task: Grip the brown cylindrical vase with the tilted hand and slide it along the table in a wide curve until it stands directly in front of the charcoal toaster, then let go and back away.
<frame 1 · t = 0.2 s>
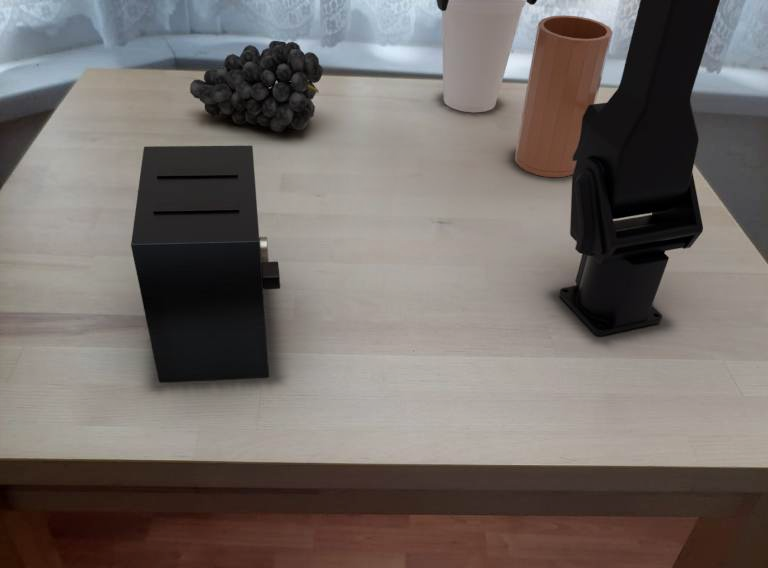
hand: (486, 6, 73), 15 cm above the table, tool pointing down, fingers open, 9 cm apart
fruit: (258, 123, 88), on the table
toaster: (214, 324, 62), on the table
brown cylindrical vase: (547, 162, 85), on the table
foam cup: (469, 103, 95), on the table
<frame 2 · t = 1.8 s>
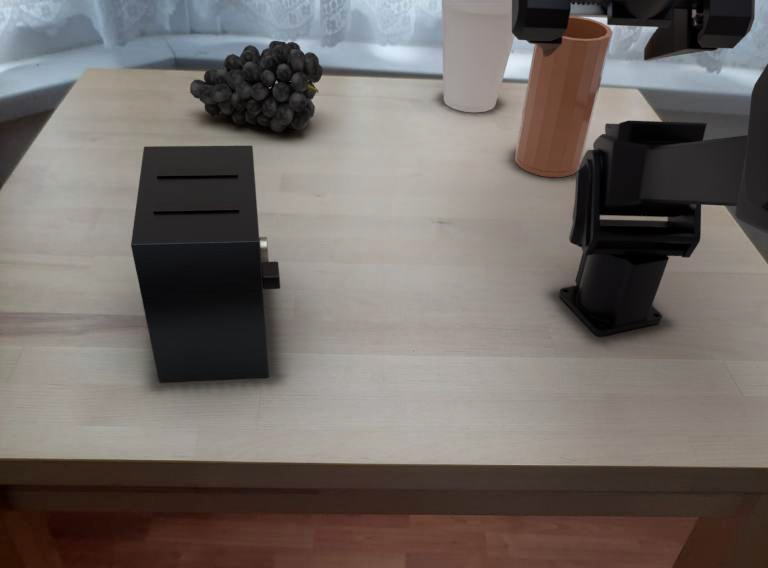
hand: (595, 52, 70), 13 cm above the table, tool tilted 45°, fingers open, 9 cm apart
nothing on the table moved.
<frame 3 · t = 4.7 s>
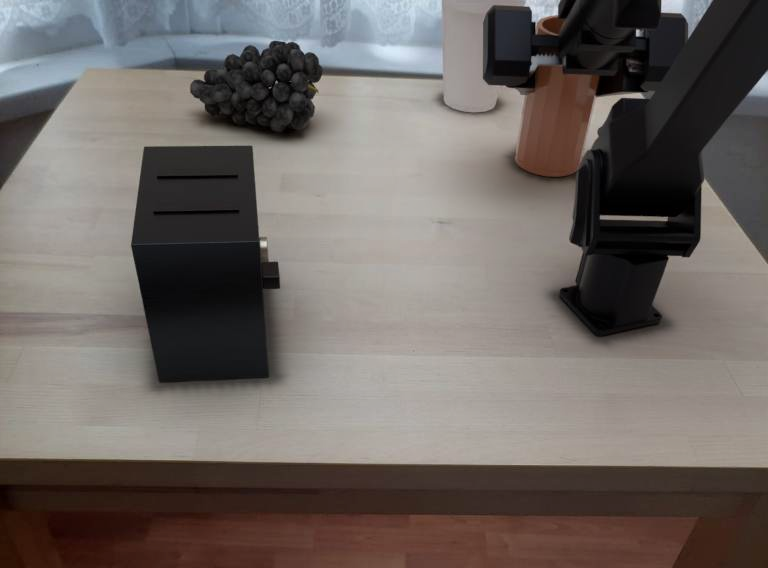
hand: (557, 91, 81), 7 cm above the table, tool tilted 45°, fingers closed on brown cylindrical vase, 7 cm apart
brown cylindrical vase: (547, 162, 85), on the table, touching gripper
everything else where it was.
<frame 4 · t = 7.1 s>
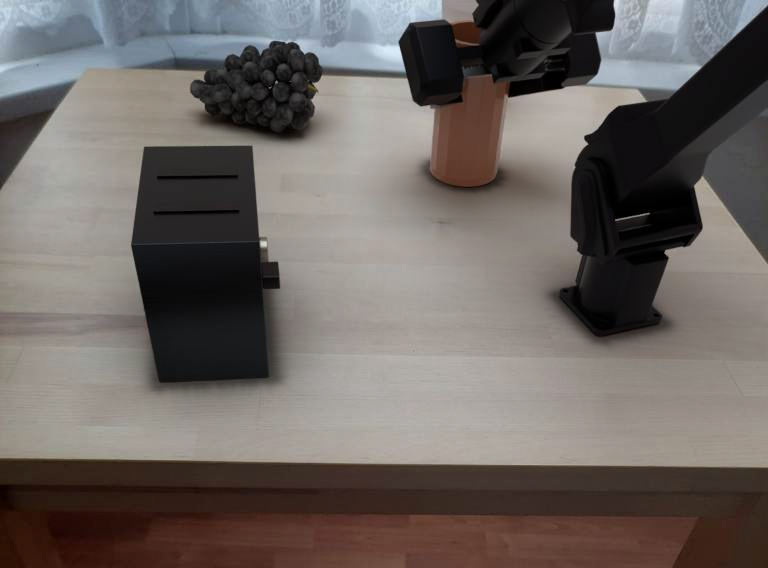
hand: (463, 98, 78), 7 cm above the table, tool tilted 45°, fingers closed on brown cylindrical vase, 7 cm apart
brown cylindrical vase: (463, 171, 82), on the table, touching gripper
everything else where it was.
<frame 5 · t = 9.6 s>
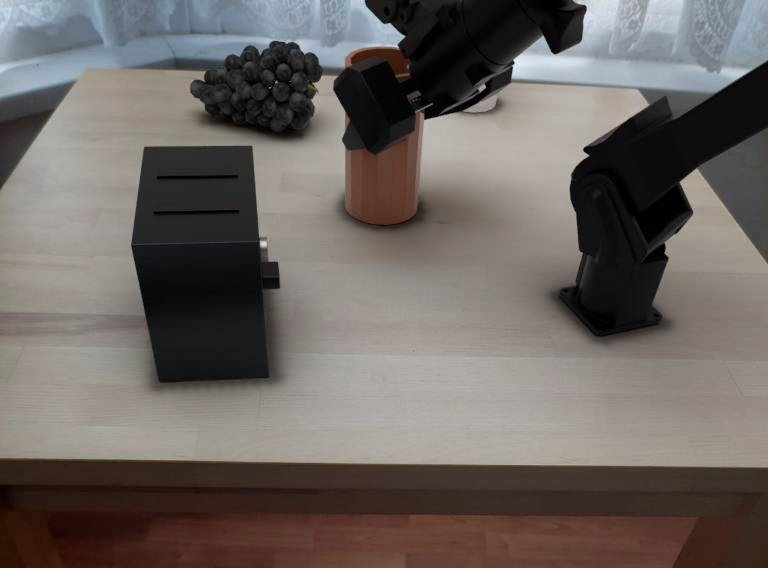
hand: (371, 132, 72), 7 cm above the table, tool tilted 45°, fingers closed on brown cylindrical vase, 7 cm apart
brown cylindrical vase: (381, 206, 76), on the table, touching gripper
everything else where it was.
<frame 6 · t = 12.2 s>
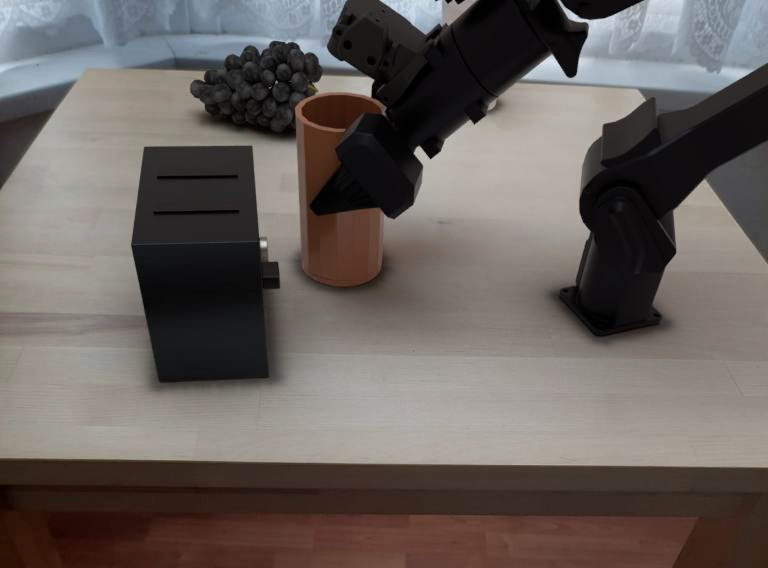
hand: (325, 188, 64), 7 cm above the table, tool tilted 45°, fingers closed on brown cylindrical vase, 7 cm apart
brown cylindrical vase: (341, 264, 69), on the table, touching gripper
everything else where it was.
when the fingers open (7 cm above the table, at t = 14.5 s): brown cylindrical vase stays where it is, on the table.
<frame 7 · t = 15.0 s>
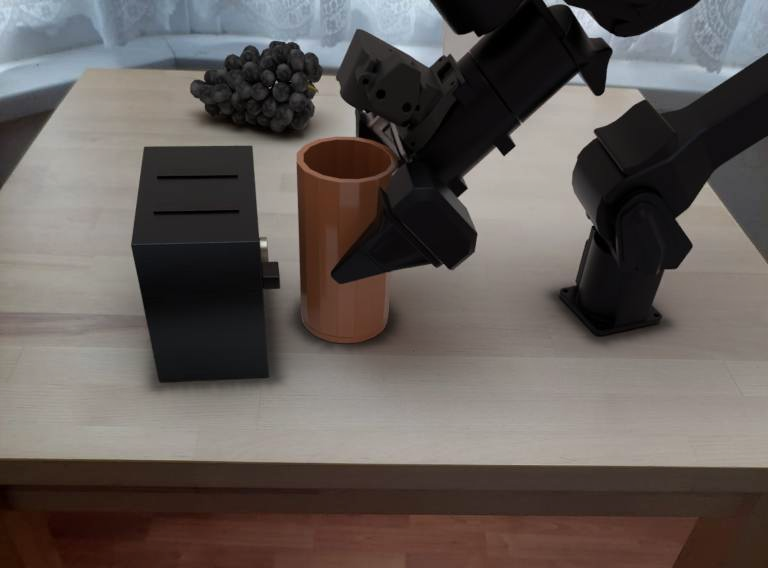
hand: (328, 245, 59), 7 cm above the table, tool tilted 45°, fingers open, 9 cm apart
brown cylindrical vase: (344, 317, 64), on the table
everything else where it was.
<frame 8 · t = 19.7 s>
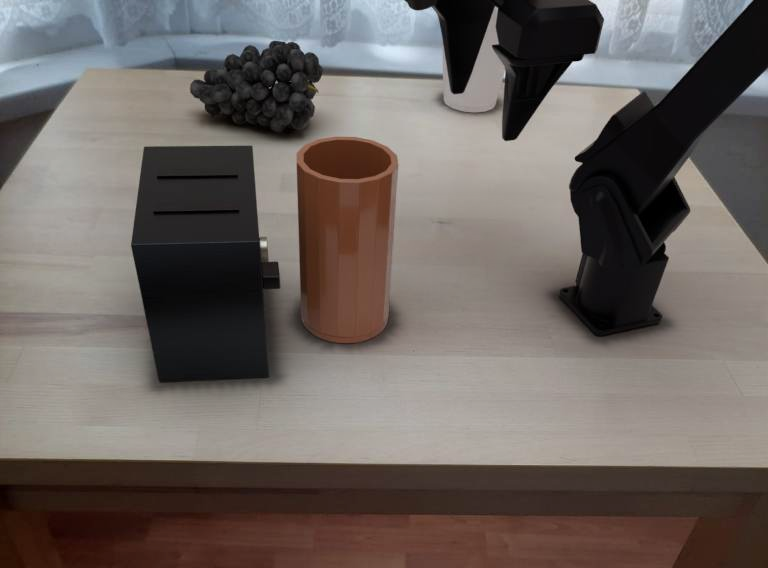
hand: (481, 115, 63), 12 cm above the table, tool pointing down, fingers open, 9 cm apart
nothing on the table moved.
at the end: brown cylindrical vase inside the target area on the table beside the toaster (0.2 cm from its centre), on the table; brown cylindrical vase tilted 0°; the gripper is holding nothing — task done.
